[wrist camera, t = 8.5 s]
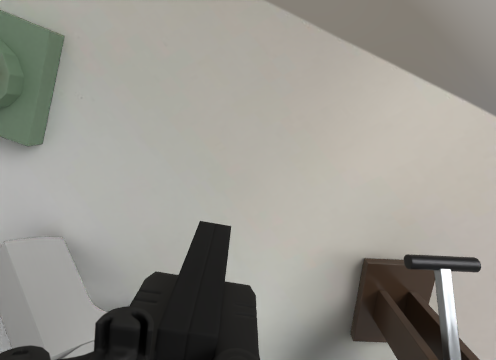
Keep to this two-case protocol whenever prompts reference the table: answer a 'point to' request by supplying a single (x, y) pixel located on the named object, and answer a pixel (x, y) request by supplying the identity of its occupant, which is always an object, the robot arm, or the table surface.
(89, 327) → the faucet
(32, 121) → the button box
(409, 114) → the table surface
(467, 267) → the tap lever
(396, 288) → the brown lever stand
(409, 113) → the table surface
